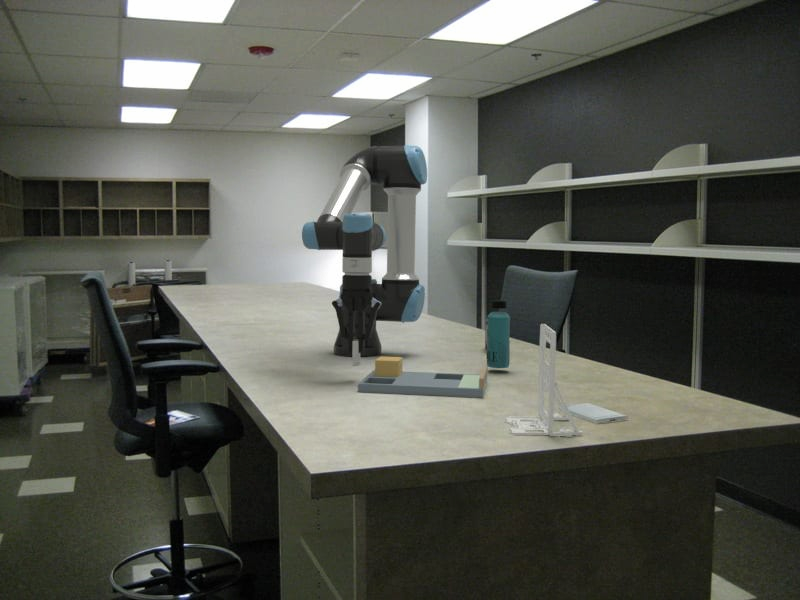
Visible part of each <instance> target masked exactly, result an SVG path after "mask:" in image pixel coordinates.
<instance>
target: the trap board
mask: <svg viewBox="0 0 800 600" xmlns="http://www.w3.org/2000/svg"><path fill="white" fill-rule="evenodd" d="M482 366H483V367H482V369H481V372H480V374H473V373H451V372H450V373H448V372H425V371H424V372H423V371H403V370H402V373H401V374H400V376H399V377H391V376H375V369H374V370H372V371H371V372H370V373H368V374H367V375H366V376H365V377H364V378H363V379H361V381H359V382H358V383H357V392H358V393H373V394H374V393H376V394H397V395H416V396H417V395H419V396H435V397H436V396H438V397H440V396H441V397H460V398H477V399H478V398H481V399H482V398H483V399H484V395H485V391H486V388H487V384H488V368H489V367H488V365H487V364H485V365H484V364H483V365H482Z"/></svg>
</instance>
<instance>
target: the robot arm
mask: <svg viewBox="0 0 800 600" xmlns="http://www.w3.org/2000/svg"><path fill="white" fill-rule="evenodd" d="M339 178H340V179H339V181H338V183H337V184H336V186H335V188H334V189H333V191H332V193H331V195H330V197H329V199H328V200H327V203H326V204H325V206H324V208H323V209H322V212H321V214H320V215H319V217H318V218H317V220H316V221H307V222H305V223H304V225H303V226H302V229H301V239H302V244H303V246H304V247H305V249H308V250H318V251H322V250H324V251H329V250H330V251H336V250H337V251H338V250H339V251H342V262H341V263H342V267H341V268H342V270H341V271H342V272H343V273H344V274H343V275H342V277H341V278H342V282H341V285H340V286H339V296H338V298H337V299H336V300H333V301H332V302H331V305H332V306H333V308H334V310H335V313H336V317H337V321H338V326H339V328H338V333H337V335H336V339H335V342H334V344H333V354H335V355H338V356H343V357H352V360H351V361H352V363H351V364H352V367H359V366H360V365H361V357H372V356H378V355H380V354H382V349H383V348H382V343H381V340H380V337H379V334H378V331H377V322H378V321H379V322H398V323H414V322H417V321H418V319H419V318H420V317H421V315H422V313H423V310H424V304H425V299H426V292H425V290H426V288H425V286H424V285H422V284H420V278H419V277H418V276H417V275H416V272H415V262H416V261H415V260H416V259H415V257H416V251H415V250H416V211H417V210H416V209H417V206H416V205H417V196H418V194H419V193H420V192H421V191H422V185H425V184H426V183H427V181H428V167H427V162H426V157H425V153H424V151H423V149H422V148H421V147H419V146H418V145H410V144H409V145H406V144H403V145H381V146H380V145H379V146H378V145H373V146H370V147H369V146H368V147H366V148H364V149H362V150H360V151H358V152H357V153H355V154H354V155H352V156H351V157H350V158H349V159H348V160H347V161H346V162H345V164H344V165H343V166H342V168H341V169H340V173H339ZM371 185H383V186H382V187H383V192H385V193H386V194H387V233H386V230H385V228H384V227H383V226H382V225H381V224H380V223H377V222H374V221H373V217H372V215H371V214H370V213H353V212H354V209H355V207H356V205H357V203H358V201H359V199H360V197H361V195H362V193H363V192H364V191H365V190H367V189H368V188H369V186H371ZM386 240H387V243H386ZM385 243H386V244H387V246H386V247H387V250H386V251H387V252H386V274H385V275H383V277H381V283H378V281H377V279H376V278H372V275H370V274H371V273H372V272H373V267H372V266H373V262H372V261H373V258H372V254H373V252H376V251H377V250H379V249H381V248H382V247H383V246H384V245H385Z"/></svg>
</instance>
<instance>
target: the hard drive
mask: <svg viewBox="0 0 800 600" xmlns="http://www.w3.org/2000/svg"><path fill="white" fill-rule="evenodd" d="M566 405H567V407H568V409H569V411H570V413H571V414H572V415H574V416H573V417H575V416H577V417H576V418H578V417H580V418H579V419H581V418H583V419H582V420H584V419H585V420H584V421H587V420H588V421H587V422H589V421H591V422H590V423H592V422H594V423H593V424H595V423H597V424H596V425H599V424H598V423H602V424H606V423H605V422H610V423H613V422H612V421H618V420H625V419H628V420H629V417H628V415H625V414H622V413H620V412H616V411H613V410H610V409H607V408H604V407H601V406H598V405H595V404H593V403H589V402H583V403H576V404H566ZM558 407H559V406H558ZM563 408H564V407H563ZM558 409H559V410H560V407H559V408H558ZM559 410H558V411H559ZM564 410H565V409H564ZM559 412H561V410H560V411H559ZM565 412H566V411H565ZM625 421H626V420H625ZM618 422H619V421H618Z"/></svg>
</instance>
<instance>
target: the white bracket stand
mask: <svg viewBox="0 0 800 600" xmlns="http://www.w3.org/2000/svg"><path fill="white" fill-rule="evenodd" d="M539 327H540V328H539V329H540V331H539V349H538V350H539V352H538V353H539V354H538V355H539V358H538V359H539V360H538V361H539V363H538V392H537V393H538V395H537V415H536V416H534V415H533V416H532V415H531V416H527V415H526V416H525V415H520V416H507V417H505V418H504V419H503V422H504V423H506V424H508V423H510V424H511V425H510V424H509V425H510V426H512V427H509V428H508V430H507V431H508V433H509V434H511V435H514V434H515V435H514V436H527V435H550V436H549V437H551V436H557V437H556V438H561V437H560V436H566V437H565V438H573V436H572V435H576V436H575V437H583V433H584V432H583V431H582V430H579V429H578V426H577V424H576V422H575V420H574V416H572V415H571V413H570V411H569V409H568V407H567V405H568V404H567V402H566V401H565V400H564V398H563V396H562V393H561V391H560V389H559V387H558V381H557V380H556V364H557V363H556V361H557V360H556V357H557V356H556V354H557V332H556V331H555V330H553V329H552V328H551V327H550V326H548V325H547V324H546V323H541V324H540V325H539ZM547 343H548V344H549V346H550V347H549V363H548V361H546V360H547V353H546V348H547V347H546V346H547ZM545 392H546V393H547V394H548V411H547V410H546V409H545ZM555 401H556V403H557V405H558V407H560V410H561V411H560V412H561V414H562V415H560V413H555ZM563 407H564V408H563ZM564 409H565V410H564ZM565 411H566V412H565ZM520 420H530V421H520ZM531 420H532V421H531ZM554 420H569V421H568V422H570V424H571V426H572V428H573V430H572V429H562V428H560V429H558V430H557V431H554V430H555V428H554V427H555V426H554V424H555V423H554V422H555V421H554ZM537 421H538V422H537ZM533 425H534V426H533ZM525 430H541V431H525ZM543 431H544V432H543Z"/></svg>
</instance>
